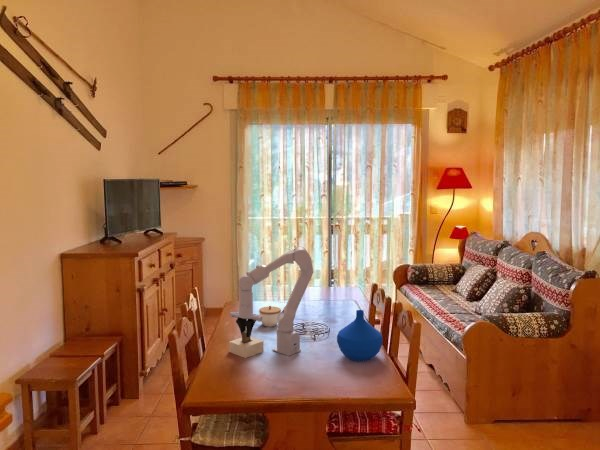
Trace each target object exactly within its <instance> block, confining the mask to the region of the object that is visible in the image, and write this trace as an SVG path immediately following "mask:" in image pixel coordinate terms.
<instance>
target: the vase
mask: <svg viewBox="0 0 600 450" xmlns="http://www.w3.org/2000/svg"><path fill="white" fill-rule="evenodd" d="M364 312H365V311H364V310H363V309H356V313H355V314H356V315H355V319H354V320H352V322H350V323H349V324H348V325H346V326H344V327H343V328H341V329H340V330H338V333H337V335H336V342H337V345H338V347H339V351H341V353H342V354H343V356H345V357H346V358H347V360H348V359H349V360H350V361H354V362H361V363H363V362H368V361H371V360H372V359H374V358H375V357H377V355H378V354H379V352H380V351H381V349H382V346H383V339H384V338H383V335H382V333H381V332H380V331H379V330H378V329H376V328H375V327H374V326H372V325H371V324H370V323H369V322H368V321H367V320H366V319H365V316H364V315H365V314H364Z"/></svg>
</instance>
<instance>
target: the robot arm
mask: <svg viewBox="0 0 600 450" xmlns="http://www.w3.org/2000/svg"><path fill="white" fill-rule="evenodd" d="M286 264H289V265H291V264H292V265H294V264H296V265H298V266H299V267H298V268H299V270H300V273H299V276H298V278H297V280H296V282H295V284H294V286H293V288H292V291H291V293H290V296H289V297H288V301H287V303H286V305H285V306H284V307H283V309H282V310H281V313H279V315H278V317H277V320H278V323H277V327H276V347H275V348H274V347H273V348H272V351H273V352H276V353H279V354H282V355H285V356H289V357H290V356H292V355H294V354H297V353H298V352H301V351H302V350H301V347H300V346H301V344H300V343H301V341H300V339H301V336H300V334H299V333H298V332H296V331H295V328H294V320H295V319H296V313H297V310H298V308H299V306H300V303H301V302H302V299H303V297H304V295H305V292H306V290H307V288H308V286H309V283H310V281H311V279H312V276H313V274H314V268H313V262H312V257H311V256H310V254H309V252H308V250H307V249H306V248H305V247H303V246H296V247H294V249H289V250H288V251H286V252H285V253H283V254H281V255H280V256H279V257H277V258H276V259H274V260H273V261H271V262H269V263H268V264H267V265H265V264H260V265H259V264H258V265H256V266H255V268H254V269H252V270H251V271H246V272H245V274H242V275H240V277H239V279H238V283H237V285H238V311H231V312H229V318H231V319H232V318H236V319H235V322H236V324H237V326H238V328H239V331H240V335H241V336H242V332H243V331H245V330H247V337H252V332H253V328H254V326H255V324H256V323H257V322H261V321H262V316H260V315H258V314H256V313H254V303H253V302H254V296H253V295H254V293H253V286H254V285H257V284H259V283H260V282H262V281H265V279H267V278H269V276H270V273H271V272H273V271H275V270H277V269H279V268H280V267H282V266H284V265H286ZM261 323H262V322H261Z"/></svg>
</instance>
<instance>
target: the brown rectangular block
mask: <svg viewBox="0 0 600 450" xmlns="http://www.w3.org/2000/svg"><path fill="white" fill-rule="evenodd" d="M250 337H251V336H250ZM250 337H247V330H245V331H243V332H242V335H241V338H242V343H244V344H245V343H248V342H251V339H250Z"/></svg>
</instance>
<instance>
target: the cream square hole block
mask: <svg viewBox="0 0 600 450" xmlns="http://www.w3.org/2000/svg"><path fill="white" fill-rule="evenodd" d="M250 339H251V342H248V343H245V344H244V343H242V337H239V338H236V339H233V340H230V341H229V342H228V344H229V349H228V350H229V353H231V354H234V355H236V356H239V357H242V358H243V359H247V358H249V357H252V356H255V355H257V354H261V353H263V352H264V340H261V339H258V338H256V337H252V336H250Z"/></svg>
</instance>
